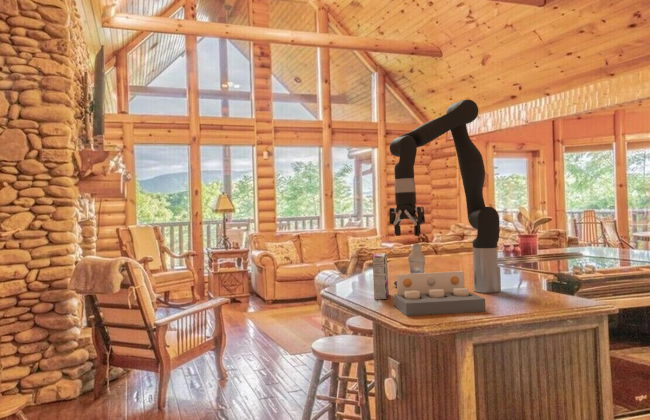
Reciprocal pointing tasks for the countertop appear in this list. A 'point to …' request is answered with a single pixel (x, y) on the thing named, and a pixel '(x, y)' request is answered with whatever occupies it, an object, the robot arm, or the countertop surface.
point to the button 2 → (460, 292)
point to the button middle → (436, 293)
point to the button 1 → (412, 294)
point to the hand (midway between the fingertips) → (407, 235)
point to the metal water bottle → (416, 259)
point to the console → (435, 305)
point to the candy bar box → (380, 276)
